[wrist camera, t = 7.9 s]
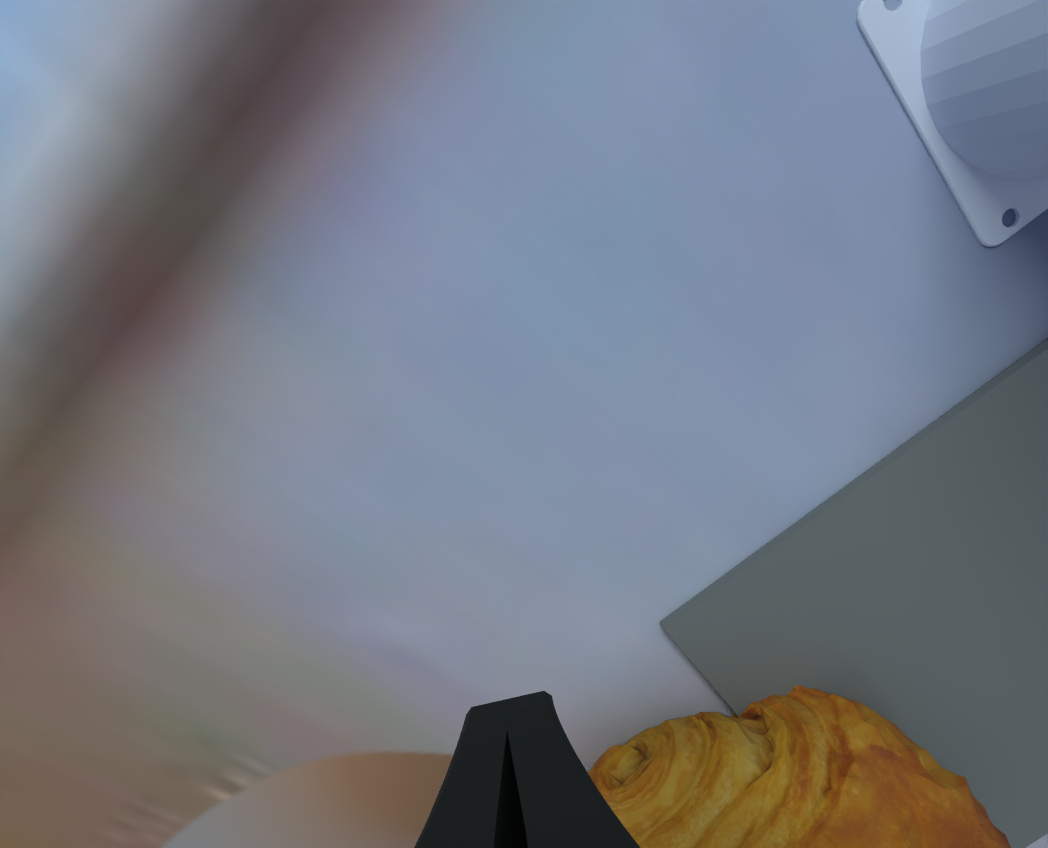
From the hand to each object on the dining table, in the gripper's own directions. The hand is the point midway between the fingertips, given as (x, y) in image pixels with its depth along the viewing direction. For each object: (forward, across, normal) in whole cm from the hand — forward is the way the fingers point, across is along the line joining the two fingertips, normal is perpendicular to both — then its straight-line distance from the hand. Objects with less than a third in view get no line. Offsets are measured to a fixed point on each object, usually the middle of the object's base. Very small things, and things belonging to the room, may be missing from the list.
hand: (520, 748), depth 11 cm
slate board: (+10, -17, +8) cm, 21 cm away
